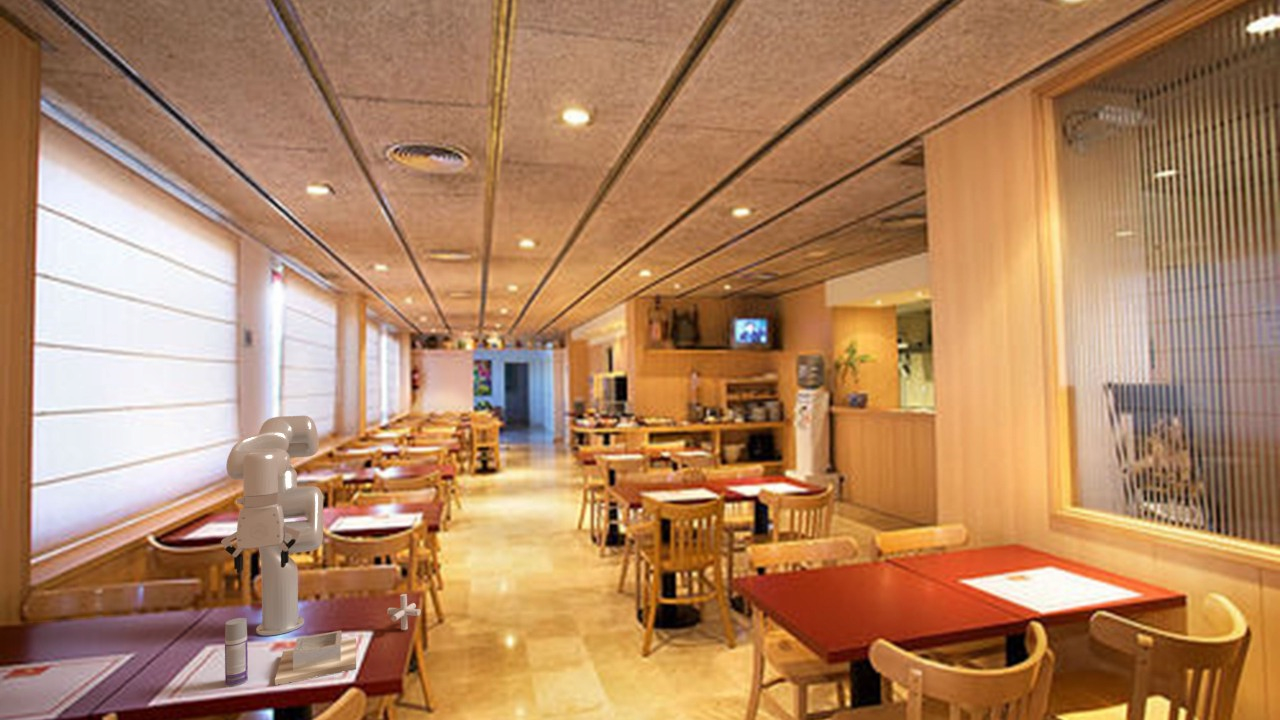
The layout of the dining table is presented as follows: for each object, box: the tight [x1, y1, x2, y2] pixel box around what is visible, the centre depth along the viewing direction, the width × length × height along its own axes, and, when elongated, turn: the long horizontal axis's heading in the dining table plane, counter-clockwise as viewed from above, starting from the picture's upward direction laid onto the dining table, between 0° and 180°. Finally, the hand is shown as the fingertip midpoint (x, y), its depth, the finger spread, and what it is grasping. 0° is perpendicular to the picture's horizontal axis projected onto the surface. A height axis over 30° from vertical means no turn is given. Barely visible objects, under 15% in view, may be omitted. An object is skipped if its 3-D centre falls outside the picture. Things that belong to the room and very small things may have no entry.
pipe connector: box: [386, 593, 422, 631], centre depth 184 cm, size 10×10×10 cm
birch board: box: [274, 637, 357, 686], centre depth 163 cm, size 18×18×2 cm
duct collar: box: [293, 630, 343, 670], centre depth 163 cm, size 11×11×4 cm
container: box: [224, 617, 249, 688], centre depth 154 cm, size 5×5×15 cm
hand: (262, 568), depth 157 cm, fingers open, 9 cm apart
